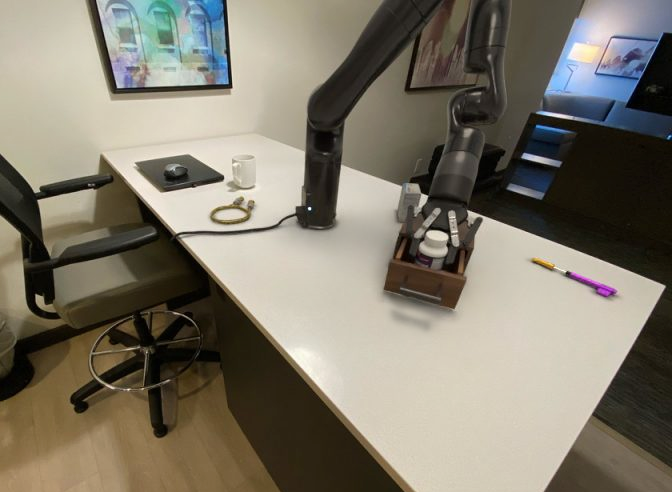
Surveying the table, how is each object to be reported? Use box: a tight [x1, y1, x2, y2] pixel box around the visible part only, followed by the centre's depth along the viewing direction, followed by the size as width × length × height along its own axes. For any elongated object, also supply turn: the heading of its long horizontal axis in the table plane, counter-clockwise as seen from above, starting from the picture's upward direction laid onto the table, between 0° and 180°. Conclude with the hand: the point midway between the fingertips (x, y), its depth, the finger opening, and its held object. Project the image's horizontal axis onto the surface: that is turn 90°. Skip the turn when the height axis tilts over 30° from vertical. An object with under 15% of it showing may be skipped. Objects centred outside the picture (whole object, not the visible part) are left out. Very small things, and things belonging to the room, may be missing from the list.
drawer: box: [382, 237, 468, 310], centre depth 64 cm, size 18×13×7 cm
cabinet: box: [392, 213, 476, 276], centre depth 74 cm, size 14×15×9 cm
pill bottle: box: [414, 230, 448, 271], centre depth 64 cm, size 5×5×10 cm
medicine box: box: [396, 182, 422, 223], centre depth 93 cm, size 8×4×9 cm, turn 168°
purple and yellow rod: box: [531, 257, 618, 298], centre depth 71 cm, size 3×1×16 cm
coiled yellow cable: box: [210, 196, 256, 225], centre depth 96 cm, size 12×16×2 cm
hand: (429, 262), depth 63 cm, fingers closed on pill bottle, 5 cm apart
